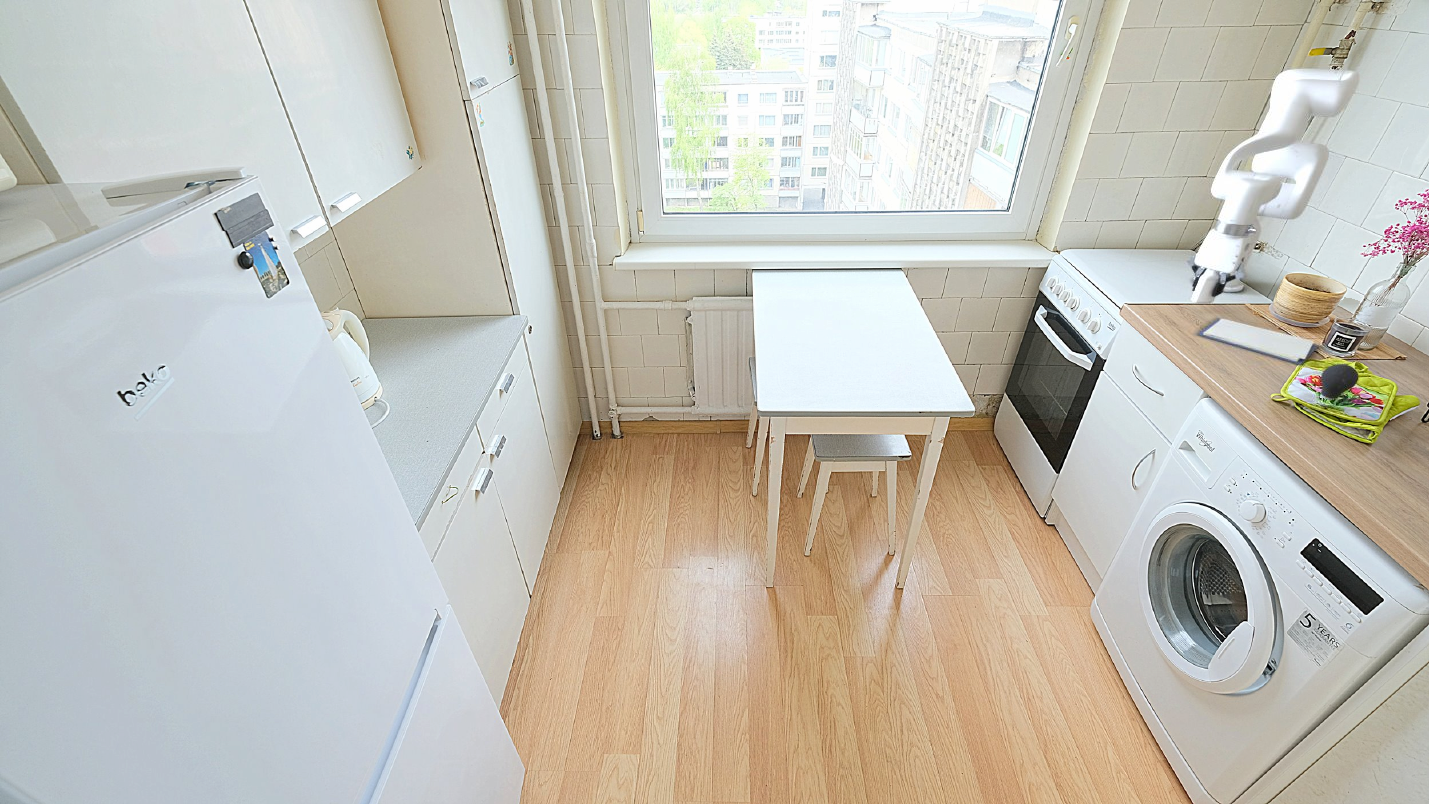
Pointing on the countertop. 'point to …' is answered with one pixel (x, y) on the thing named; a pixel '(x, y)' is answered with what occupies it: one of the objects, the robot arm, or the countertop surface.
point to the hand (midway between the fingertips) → (1205, 292)
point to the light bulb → (1337, 381)
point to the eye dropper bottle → (1206, 287)
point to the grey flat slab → (1260, 340)
